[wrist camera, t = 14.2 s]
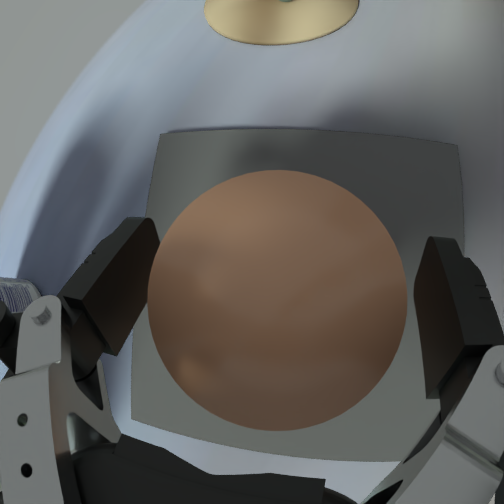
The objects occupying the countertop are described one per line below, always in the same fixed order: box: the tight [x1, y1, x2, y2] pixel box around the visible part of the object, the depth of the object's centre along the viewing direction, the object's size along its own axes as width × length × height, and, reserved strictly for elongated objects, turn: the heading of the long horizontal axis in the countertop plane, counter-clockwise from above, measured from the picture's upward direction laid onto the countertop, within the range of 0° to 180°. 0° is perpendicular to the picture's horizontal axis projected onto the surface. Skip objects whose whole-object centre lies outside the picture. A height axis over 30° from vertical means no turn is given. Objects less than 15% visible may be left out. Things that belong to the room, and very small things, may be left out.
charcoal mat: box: [131, 129, 464, 462], centre depth 14 cm, size 16×16×1 cm
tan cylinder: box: [147, 170, 407, 431], centre depth 10 cm, size 6×6×7 cm
